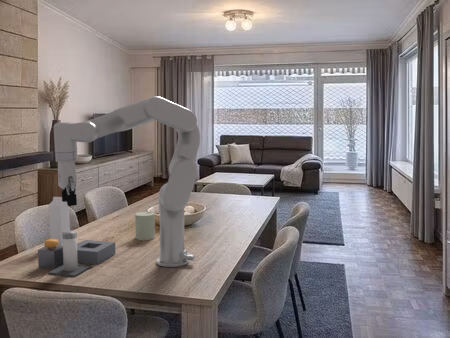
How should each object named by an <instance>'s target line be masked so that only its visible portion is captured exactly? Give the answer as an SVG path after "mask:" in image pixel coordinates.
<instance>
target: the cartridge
mask: <svg viewBox="0 0 450 338" xmlns="http://www.w3.org/2000/svg"><path fill="white" fill-rule="evenodd" d="M77 233H78V231H76V230H70V231H64V232H62V238H63V265H64V271H74V270H77V269H78V264H79V263H78V258H77V244H78V236H77V235H78V234H77Z"/></svg>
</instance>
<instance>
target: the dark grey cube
mask: <svg viewBox="0 0 450 338" xmlns="http://www.w3.org/2000/svg"><path fill="white" fill-rule="evenodd" d="M37 258H38V259H37V260H38V261H37V262H38V269H47V270H54V269H56V268H58V267H60V266H62V265H63V246H56V247H54V249H50V248H47V247H45V246H43V247H42V248H39V249H37Z"/></svg>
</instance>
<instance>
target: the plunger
mask: <svg viewBox="0 0 450 338" xmlns="http://www.w3.org/2000/svg"><path fill="white" fill-rule="evenodd" d="M43 245H44V246H43V247H47V248H50V249H54V247H56V246H58V239H50V238H49V239H45V240H44V243H43Z"/></svg>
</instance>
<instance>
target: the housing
mask: <svg viewBox="0 0 450 338" xmlns="http://www.w3.org/2000/svg"><path fill="white" fill-rule="evenodd" d="M116 253H117V252H116V241H115V242H114V241H104V240H89V239H84V240H82V241H80V242H77V258H78V264H80V263H81V264H88V265H100V264H101V263H103V262H105V261H106V260H108V259H109V258H112V257H113V256H115V255H116Z"/></svg>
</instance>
